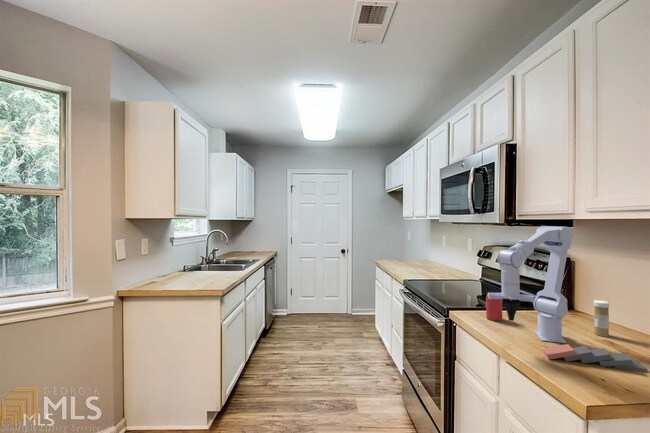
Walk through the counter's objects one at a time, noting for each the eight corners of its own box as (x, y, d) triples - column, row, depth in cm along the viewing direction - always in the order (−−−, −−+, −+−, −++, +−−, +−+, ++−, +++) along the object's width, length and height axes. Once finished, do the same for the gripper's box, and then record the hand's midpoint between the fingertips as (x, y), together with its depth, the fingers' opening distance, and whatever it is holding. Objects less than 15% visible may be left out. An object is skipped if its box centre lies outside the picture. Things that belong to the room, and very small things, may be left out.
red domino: (544, 353, 109) (570, 348, 106) (548, 359, 104) (576, 354, 102) (542, 348, 109) (568, 344, 107) (546, 355, 105) (573, 350, 102)
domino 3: (599, 361, 99) (631, 359, 96) (594, 354, 104) (625, 352, 100) (601, 366, 99) (633, 365, 96) (596, 359, 104) (626, 357, 100)
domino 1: (563, 356, 103) (591, 351, 100) (558, 350, 108) (584, 345, 105) (565, 361, 103) (593, 356, 100) (560, 355, 108) (586, 350, 105)
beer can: (499, 322, 140) (498, 296, 140) (484, 319, 145) (483, 293, 145) (504, 319, 144) (504, 293, 144) (489, 315, 149) (489, 290, 149)
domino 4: (614, 365, 98) (647, 369, 95) (607, 358, 103) (638, 361, 100) (614, 370, 98) (647, 374, 95) (607, 362, 103) (638, 366, 100)
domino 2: (580, 358, 102) (610, 354, 98) (575, 352, 106) (603, 347, 103) (582, 363, 101) (612, 359, 98) (577, 357, 106) (605, 352, 103)
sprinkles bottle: (594, 331, 127) (594, 299, 127) (609, 334, 124) (609, 301, 124) (593, 335, 124) (593, 301, 124) (609, 338, 121) (609, 303, 120)
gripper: (489, 284, 113) (490, 321, 113) (536, 286, 107) (537, 325, 108) (487, 280, 119) (487, 315, 119) (531, 282, 114) (531, 318, 114)
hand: (510, 319), depth 114 cm, fingers closed
